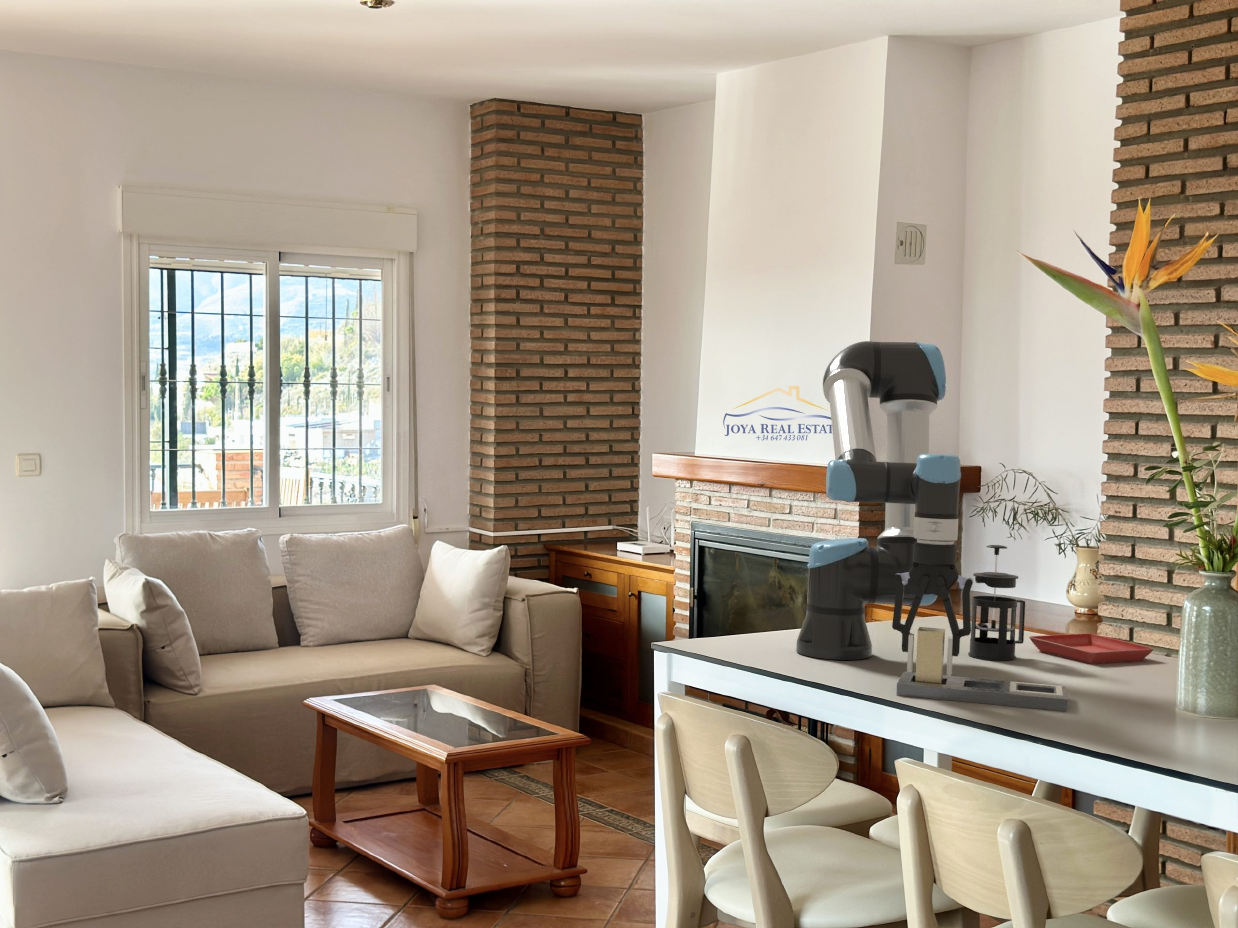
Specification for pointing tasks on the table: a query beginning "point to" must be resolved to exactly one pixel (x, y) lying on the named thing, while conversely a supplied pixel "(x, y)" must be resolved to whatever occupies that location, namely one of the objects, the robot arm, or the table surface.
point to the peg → (930, 655)
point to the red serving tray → (1090, 648)
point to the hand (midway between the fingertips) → (929, 672)
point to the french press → (986, 645)
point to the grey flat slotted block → (986, 692)
